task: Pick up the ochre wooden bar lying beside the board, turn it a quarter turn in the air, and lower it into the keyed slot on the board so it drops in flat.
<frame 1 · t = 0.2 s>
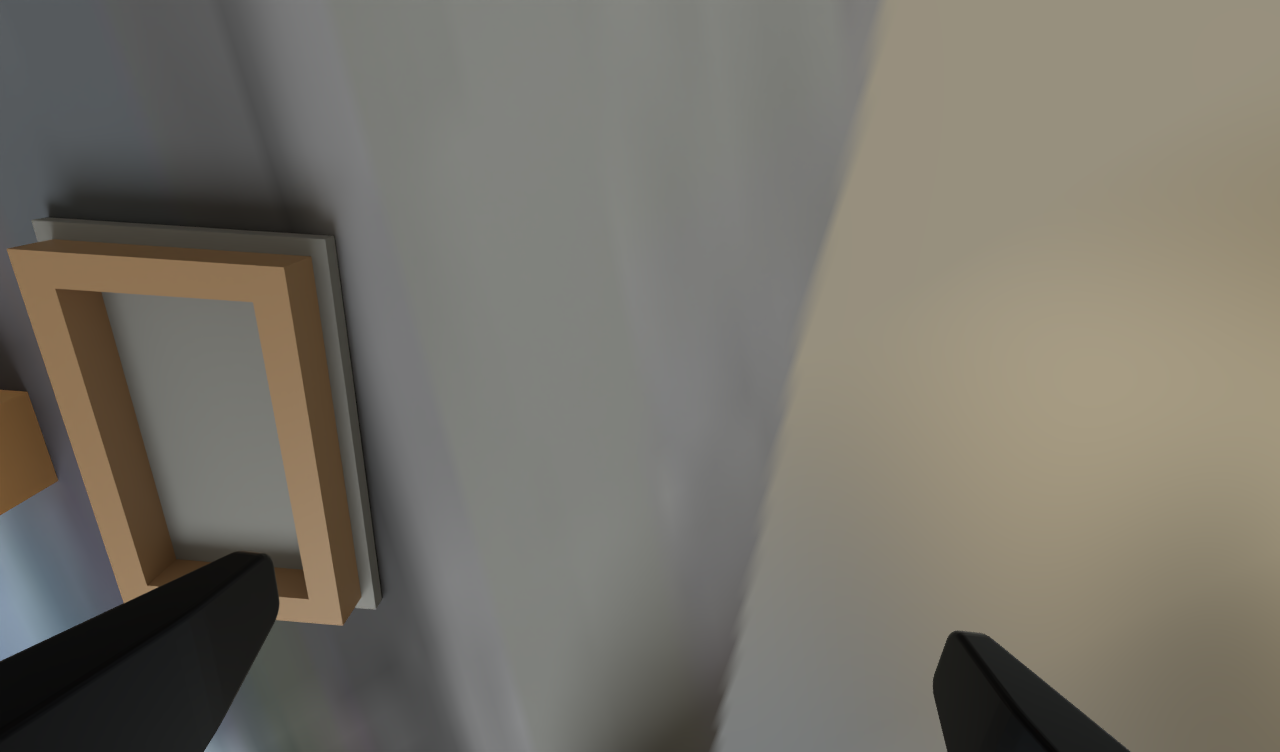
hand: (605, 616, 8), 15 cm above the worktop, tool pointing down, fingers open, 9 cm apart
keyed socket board: (234, 430, 25), on the worktop
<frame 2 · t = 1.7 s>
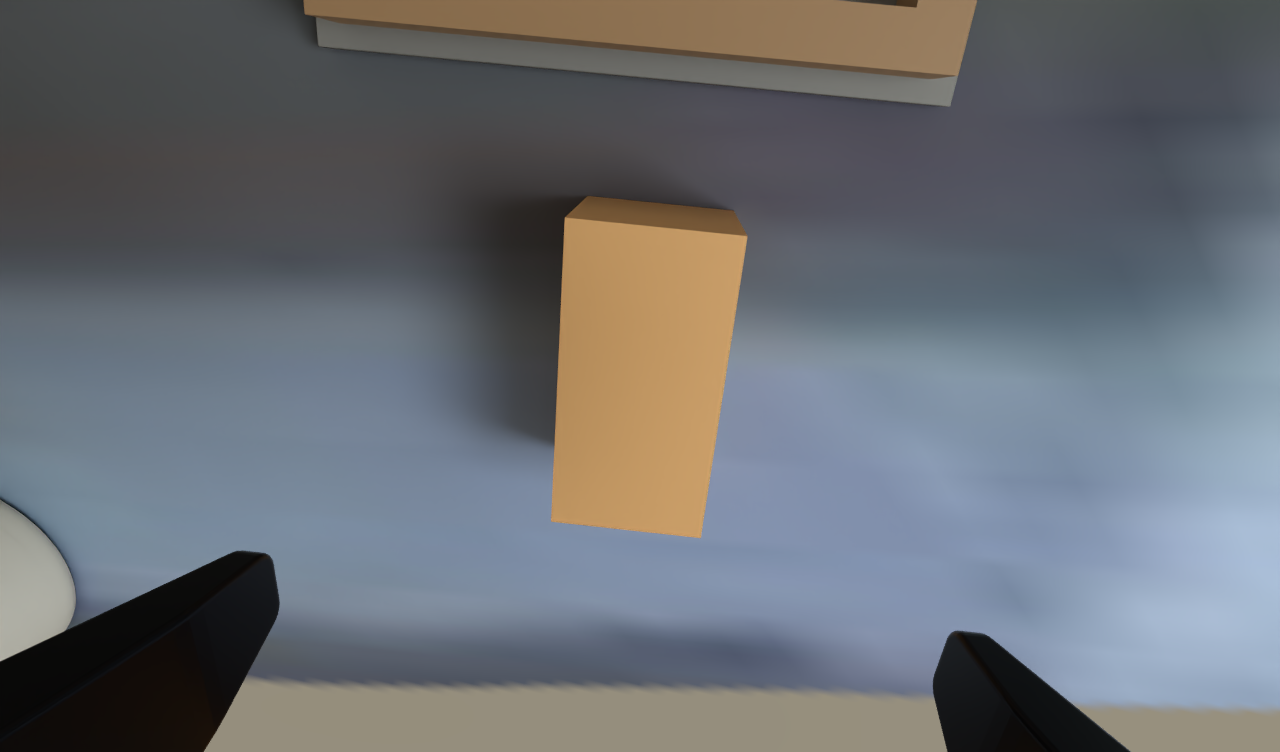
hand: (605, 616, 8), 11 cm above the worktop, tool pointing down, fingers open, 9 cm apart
ochre bar: (646, 338, 19), on the worktop
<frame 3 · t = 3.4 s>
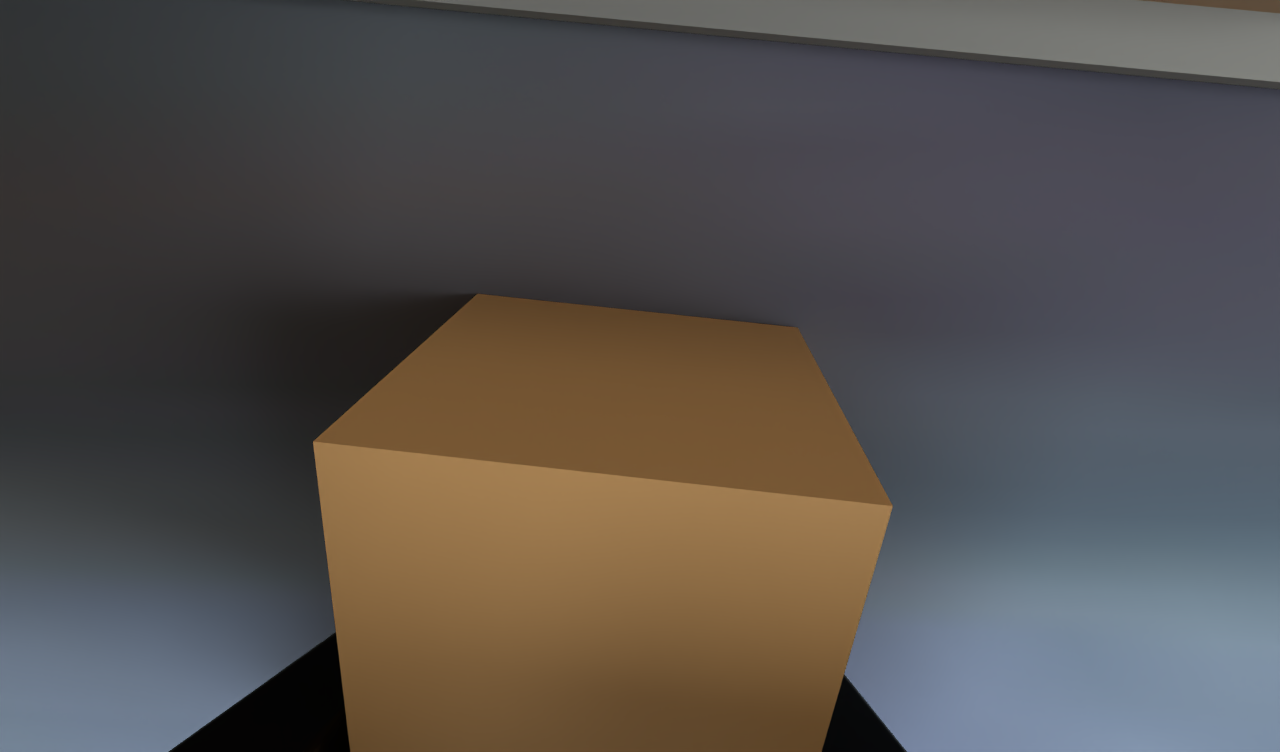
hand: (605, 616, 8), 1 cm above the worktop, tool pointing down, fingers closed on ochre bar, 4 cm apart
ochre bar: (613, 563, 10), on the worktop, touching gripper
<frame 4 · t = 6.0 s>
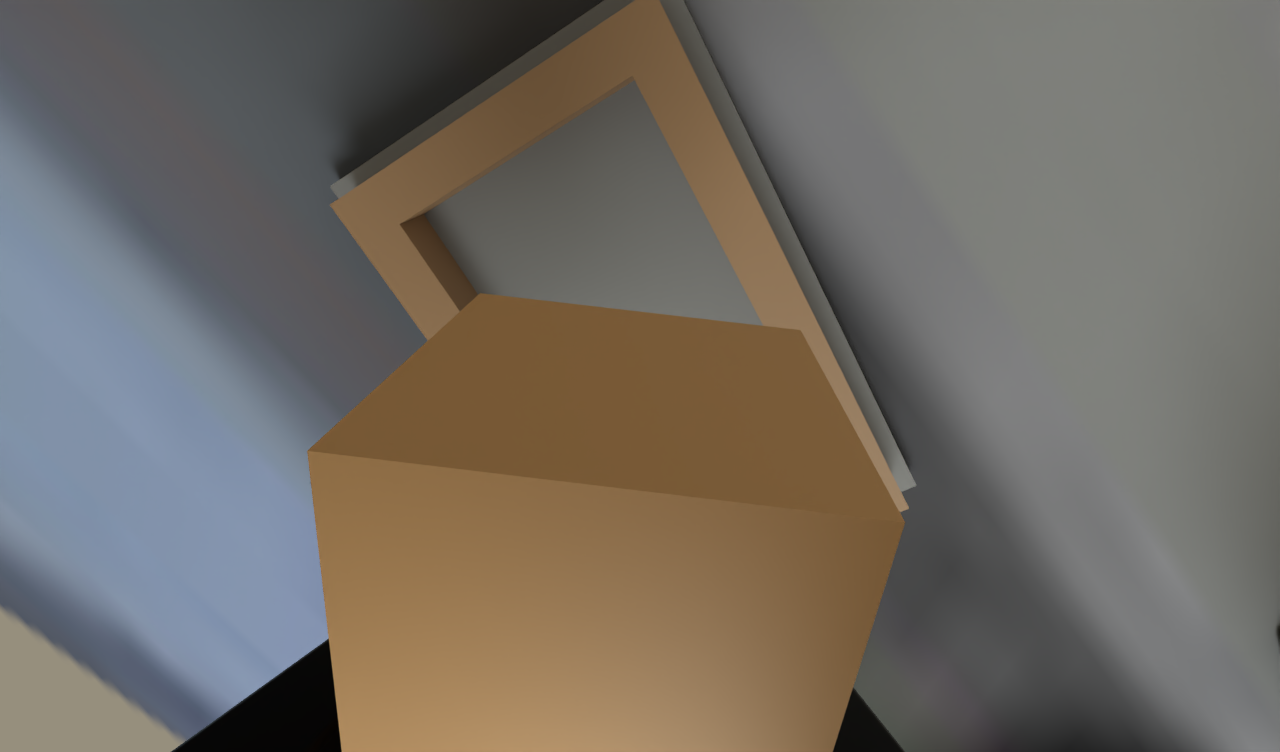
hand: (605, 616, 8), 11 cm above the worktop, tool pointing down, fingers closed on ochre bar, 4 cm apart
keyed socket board: (644, 339, 19), on the worktop
ochre bar: (612, 569, 9), point 10 cm above the worktop, touching gripper
when the fingers open (3 cm above the worktop, at t = 8.2 s): ochre bar drops 2 cm, resting on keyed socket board.
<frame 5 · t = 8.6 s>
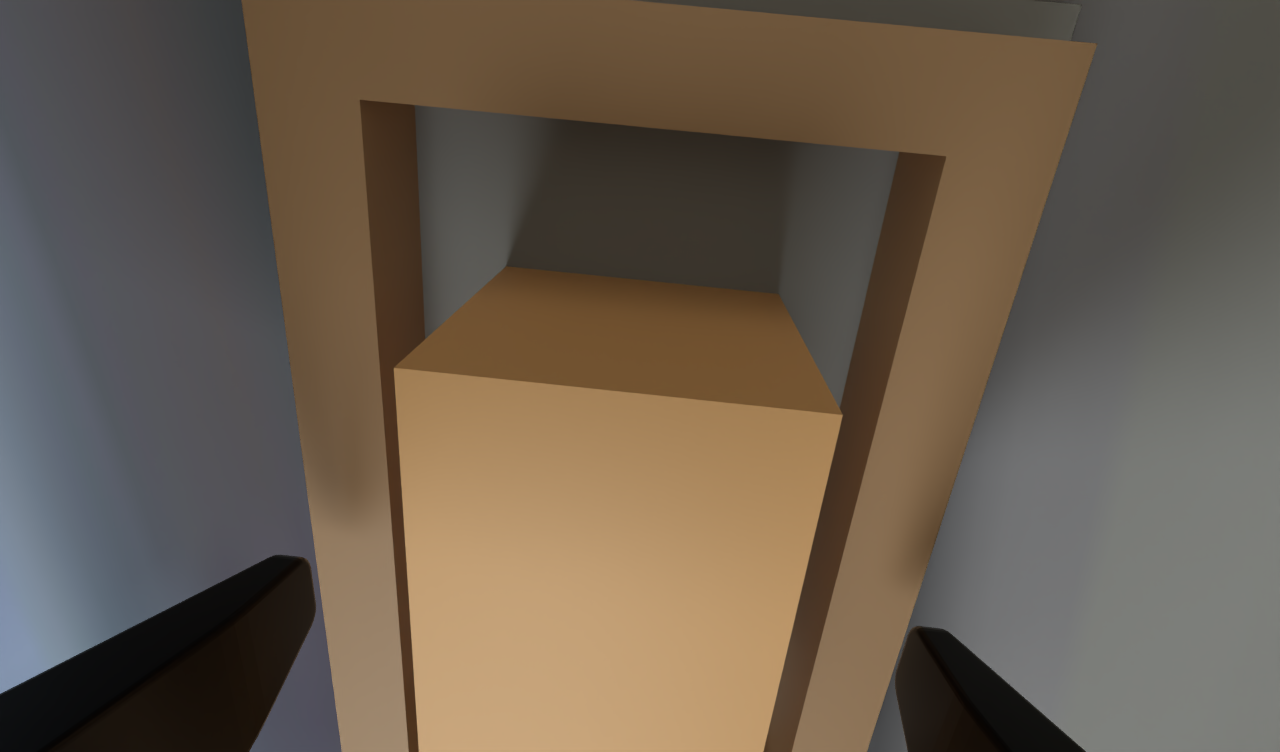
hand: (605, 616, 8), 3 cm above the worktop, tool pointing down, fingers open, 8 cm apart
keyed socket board: (624, 484, 11), on the worktop
ochre bar: (620, 509, 11), point 1 cm above the worktop, touching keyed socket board
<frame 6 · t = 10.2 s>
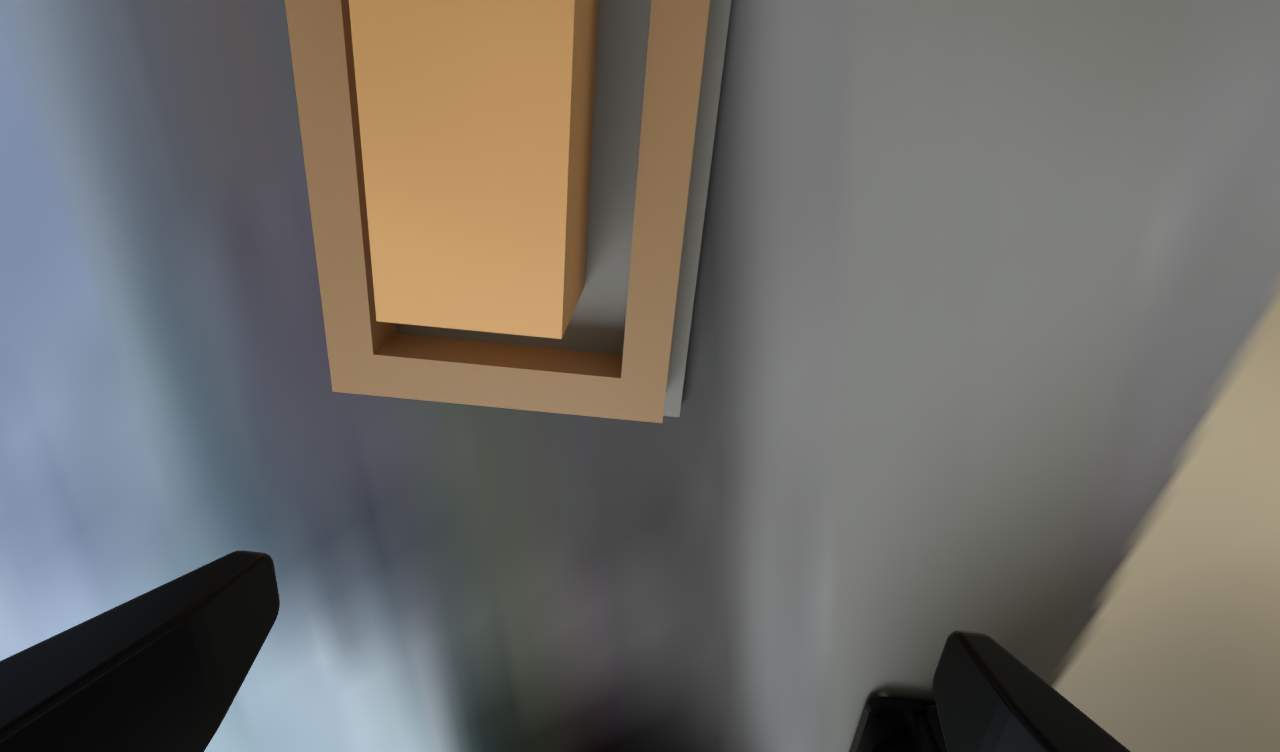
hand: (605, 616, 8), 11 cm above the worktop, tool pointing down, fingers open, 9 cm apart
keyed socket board: (517, 116, 16), on the worktop
ochre bar: (511, 122, 16), point 1 cm above the worktop, touching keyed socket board
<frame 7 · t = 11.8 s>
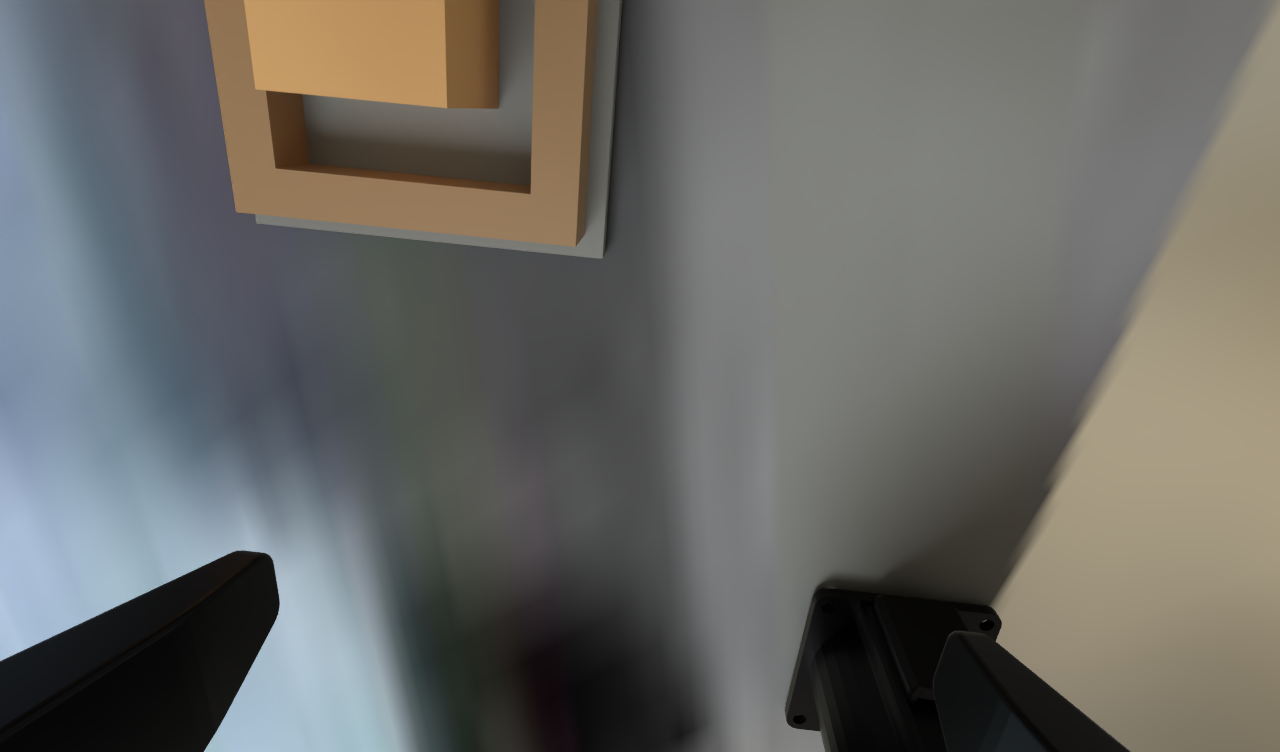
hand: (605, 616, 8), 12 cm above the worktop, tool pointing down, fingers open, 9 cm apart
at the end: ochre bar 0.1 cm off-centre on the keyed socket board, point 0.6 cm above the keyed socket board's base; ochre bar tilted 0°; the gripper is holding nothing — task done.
